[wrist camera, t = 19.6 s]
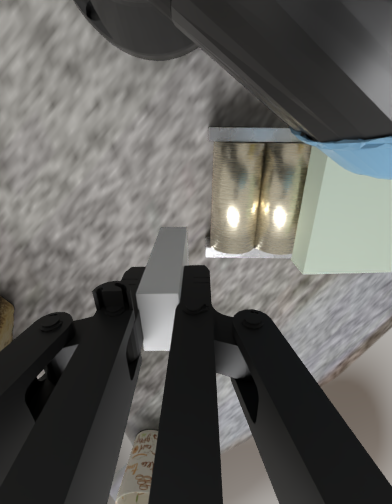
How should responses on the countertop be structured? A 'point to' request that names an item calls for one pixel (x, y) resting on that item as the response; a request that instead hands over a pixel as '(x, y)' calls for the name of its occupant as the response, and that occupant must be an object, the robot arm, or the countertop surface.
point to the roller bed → (256, 191)
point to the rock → (6, 323)
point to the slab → (343, 221)
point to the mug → (139, 470)
